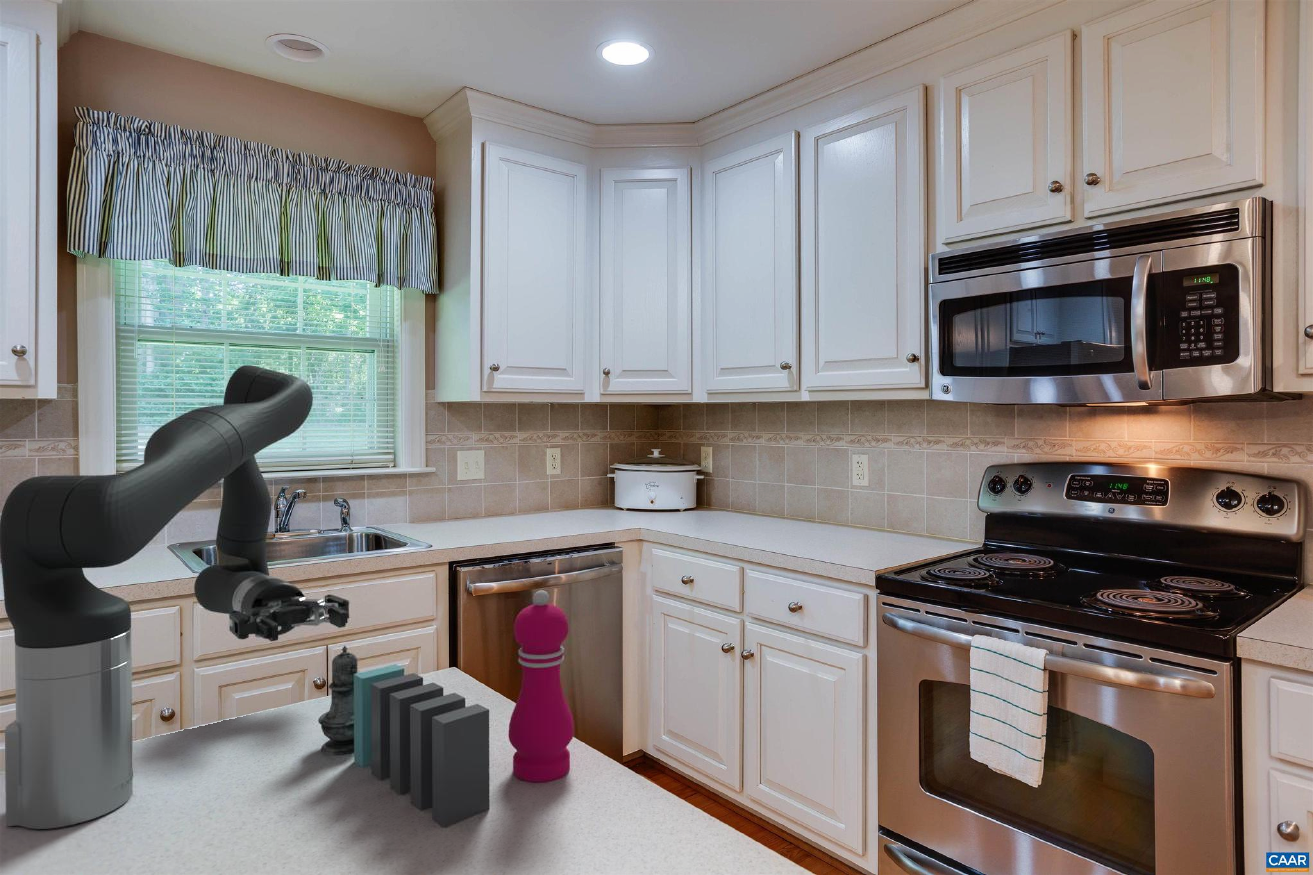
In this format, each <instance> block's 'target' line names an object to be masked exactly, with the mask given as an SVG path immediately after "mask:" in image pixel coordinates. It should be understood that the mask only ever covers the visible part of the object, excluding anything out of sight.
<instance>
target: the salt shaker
mask: <svg viewBox="0 0 1313 875" xmlns="http://www.w3.org/2000/svg"><path fill="white" fill-rule="evenodd" d="M341 651H342V652H340V653H339V654H337V655H336V656H335V657H333V659H332V662H331V683H330V684H329V685H328V689H329V690H331V695H330V696H331V703H330V708H329V710H328V711H326V712H325V713H323V714H321V715H320V716H319V717H318V719H317V721H318V724H319V725H320V727H321V731H322V733H323V735H324V736H325V737H326V738H327V739H328V740H327V741H326V742H325V743H324V744H322V745H321V748H320V750H321V753H322V754H325V755H328V756H329V755H330V756H344V755H345V756H346V755H350V754H354V674H357V673H359V672H358V657H357V656H356V655H355V654H353V653H352V652H349V651H348V647H347V646H346V645H344V646H343V647H342V649H341Z"/></svg>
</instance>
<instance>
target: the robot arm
mask: <svg viewBox="0 0 1313 875" xmlns="http://www.w3.org/2000/svg"><path fill="white" fill-rule="evenodd" d="M223 396H224V397H223V404H218V405H210V406H209V405H208V406H204V407H199V408H195V409H191V410H189V411H187V412H184V413H183V414H181V415H179V416H178V417H176V418H173V419H172V420H170V421H168V422H167V423H164V424H163V425H161V426H160V427H158V428H157V429H156V430H155V431H154V432H153V433H152V434H151V436H150V437H149V439H148V441H147V443H146V445H145V448H144V452H143V455H144V456H143V463H141V465H139V466H136V467H134V468H133V469H129V470H127V471H123V472H122V473H121V472H120V473H116V474H101V475H99V474H98V475H97V474H96V475H93V474H92V475H91V474H90V475H82V474H81V475H65V474H64V475H41V476H40V475H38V476H33V477H29V478H27V479H25V480H22V481H20V482H19V484H17V485H16V486H15V487H14V488H13V489H12V490H11V492H10V493H9V495H8V496H7V497H6V500H5V501H4V502H5V503H4V505H3V508H2V510H1V515H0V516H1V517H0V563H1V573H2V576H1V578H2V586H3V587H2V588H3V599H4V600H3V601H4V609H5V613H6V615H7V619H8V620H9V622H10V624H11V626H12V628H13V633H14V672H15V673H14V674H15V678H14V679H15V680H14V682H15V720H14V721H12V722H11V723H9V724H8V725H7V726H6V727H5V730H4V765H5V766H4V773H5V774H4V775H5V777H4V778H5V779H4V781H5V785H4V786H5V826H6V827H12V826H14V827H15V826H20V827H23V828H25V829H26V828H28V829H33V830H34V829H35V830H42V829H43V830H47V829H48V830H49V829H54V828H63V827H67V826H73V825H76V824H79V823H85V822H87V821H90V820H93V819H96V818H99V817H101V816H104V815H106V814H108V813H110V812H112V811H114V810H116V809H118V808H120V807H121V806H122V805H124V804H125V803H126V802H127V801H128V800H130V799H131V797H132V796H133V778H134V769H133V766H134V765H133V680H132V679H133V672H132V670H133V668H132V661H133V660H132V659H133V658H132V611H131V610H132V609H131V606H130V604H129V602H128V601H127V600H125V599H124V598H122V597H119V596H117V595H114V594H112V593H110V592H106V591H104V590H103V589H101V588H99V587H97V586H96V585H94V583H92V582H91V581H90V580H89V579H88V578H87V577H86V576H85V573H84V570H83V569H95V568H96V569H98V568H99V569H101V568H108V567H109V568H110V567H113V566H117V565H120V564H122V563H124V562H126V561H129V560H130V559H132V558H133V557H135V555H137V554H138V553H140V552H141V551H142V550H143V549H144V548H145V547H146V546H147V545H148V544H149V543H151V541H152V540H153V539H154V538H155V537H156V536H157V535H158V534H159V533H160V532H161V531H162V530H163V529H164V528H165V527H166V526H167V525H168V524H169V523H170V522H172V520H173V519H174V518H175V517H176V516H177V515H178V514H179V513H180V512H181V511H182V510H184V509H185V508H186V507H187V506H188V505H189V504H191V503H192V502H193V501H194V500H196V499H197V498H198V497H200V496H201V495H202V494H203V493H205V492H206V491H208V490H209V489H210V488H212V487H213V486H215V485H216V484H218V483H219V482H220V481H223V484H222V485H223V486H222V490H223V491H222V498H221V500H222V501H221V506H220V513H219V517H218V518H219V520H218V525H217V531H216V537H215V546H216V549H217V550H218V551H219V552H220V553H221V554H223V555H226V556H230V557H234V558H235V557H236V558H241V559H245V560H246V561H245V562H237V563H223V564H213V565H212V564H211V565H209V566H207V567H205V568H204V569H202V570H201V571H200V572H199V574H198V575H197V577H196V579H195V580H194V585H193V588H194V589H193V590H194V596H195V598H196V601H197V602H198V604H199V605H200V606H201V607H202V608H203V609H204V610H207V611H208V612H213V613H218V614H227V615H228V616H229V617H228V619H229V620H228V623H229V624H228V625H229V629H228V631H230V632H231V634H233V635H234V637H236V638H237V639H238V640H246V639H249V638H250V635H254V637H255V638H260V639H261V638H262V639H265V640H268V641H270V642H276V641H278V640H279V636H283V635H284V634H287V633H289V632H290V631H292V630H294V629H295V628H296V627H298V628H299V627H301V626H311V627H312V626H314V627H317V626H320V625H322V624H323V623H328V624H331V625H332V626H335V627H337V628H339V629H341V628H346V625H347V624H348V622H349V621H348V620H349V619H350V600H348V599H345V598H343V597H339V596H337V595H334V594H329V593H328V594H327V595H324V599H321V598H320V599H319V598H306V595H304V593H303V592H302V590H301V589H300V588H299V587H298V586H296V585H294V584H292V583H289V582H288V581H285V580H283V579H281V578H279V577H277V576H273V575H270V572H269V571H270V570H269V567H268V559H267V558H268V557H267V537H268V532H269V526H270V521H271V515H272V498H271V494H270V491H269V488H268V485H267V483H266V481H265V477H264V476H263V474H262V472H261V470H260V467H259V464H258V462H257V459H256V457H255V455H256V454H258V453H260V451H262V450H265V448H267V447H269V446H271V445H274V444H275V443H277V442H279V441H281V440H283V439H286V438H287V437H289V436H290V435H292V434H294V433H295V432H296V431H298V430H299V429H300V428H301V426H302V425H303V424H304V423H305V422H306V421H307V419H308V417H309V415H310V413H311V411H312V407H313V403H314V402H313V401H314V400H313V399H314V398H313V396H314V395H313V391H312V389H311V387H310V385H309V384H308V383H307V381H305V380H304V379H302V378H300V377H298V376H296V375H293V374H288V373H284V372H282V371H281V372H280V371H277V370H273V369H269V368H264V367H260V366H257V365H251V364H246V365H241V366H240V367H238V368H237V369H235V371H234V372H233V373H232V374H231V376H230V377H229V379H228V382H227V384H226V388H225V391H224V395H223ZM313 617H314V618H313ZM311 618H313V619H311Z"/></svg>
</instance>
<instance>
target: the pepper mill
mask: <svg viewBox="0 0 1313 875" xmlns="http://www.w3.org/2000/svg"><path fill="white" fill-rule="evenodd" d="M532 601H533V603H534V604H531V605H528V606H527V607H524V608H523V609H521V611H519V612H518V615H516V618H515V620H514V624H513V636H514V638H515V641H516V642H517V643H518V644H519V645H520V648H519V649H518V651H517V652H518V655H519V658H518V663H519V664H520V665H522V666H521V667H522V681H521V687H520V688H521V689H520V692H519V695H518V698H517V701H516V702H515V703H516V704H515V706H514V708H513V710H512V713H511V716H510V721H509V725H508V741H509V742H510V744H511V746H512V747H513V748H514V749H515V750H516V751H515V752H514V754H513V756H512V771H513V774H514V776H515V777H516V778H517V779H520V780H521V781H525V782H529V783H544V782H545V783H546V782H547V783H548V782H550V781H555V780H558V779H560V778H561V777H564V776H565V775H566V774H567V773H568V772H569V770H570V767H571V766H570V765H571V752H570V751H569V749H568V748H567V747H568V746H569V745H570V743H571V742H572V740H573V738H574V736H575V725H574V724H575V723H574V718H573V715H572V714H573V713H572V710H571V708H570V706H569V704H568V702H567V700H566V697H565V694H564V692H563V687H562V682H561V663H562V662H564V660H565V657H564V652H565V647H564V646H562V644H563V643H564V641H565V640H566V639H567V637H568V634H569V621H568V617H567V616H566V613H565V611H564V610H562V609H561V608H560V607H558V606H556V605H554V604H552V603H549V602H550V596H549V593H548V592H547V591H546V590H538V591H536V592H534V594H533V597H532Z"/></svg>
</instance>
